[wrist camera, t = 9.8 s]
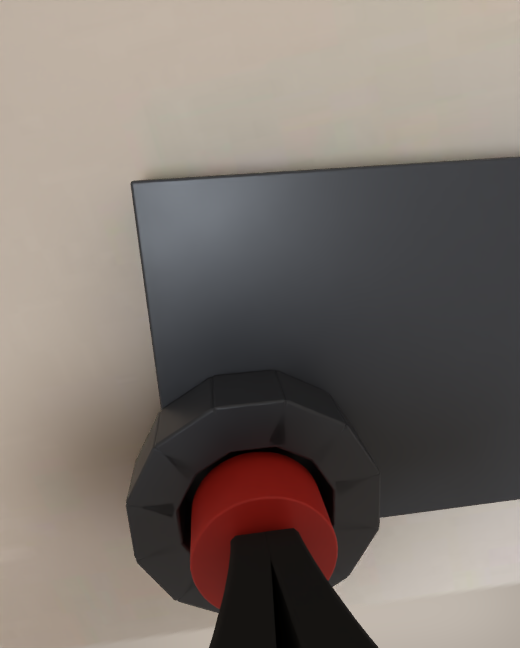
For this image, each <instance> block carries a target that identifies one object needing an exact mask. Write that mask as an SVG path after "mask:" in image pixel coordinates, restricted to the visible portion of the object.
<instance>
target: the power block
mask: <svg viewBox="0 0 520 648" xmlns="http://www.w3.org/2000/svg"><path fill="white" fill-rule="evenodd" d="M131 191H132V198H133V205H134V213H135V220H136V227H137V235H138V242H139V249H140V257H141V264H142V271H143V279H144V286H145V293H146V301H147V308H148V315H149V323H150V330H151V337H152V345H153V352H154V359H155V367H156V374H157V381H158V389H159V396H160V404H161V412H159V413H158V415H157V417H156V419H155V421H154V423H153V425H152V427H151V430H150V432H149V434H148V436H147V438H146V440H145V442H144V444H143V446H142V448H141V450H140V452H139V455H138V457H137V459H136V461H135V466H134V470H133V474H132V479H131V483H130V487H129V491H128V496H127V500H126V509H127V515H128V521H129V527H130V533H131V538H132V544H133V550H134V556H135V558H136V561H137V563H138V564H139V565H140V566H141V567H142V568H143V569H144V570H145V571H146V572H147V573H148V574H149V575H150V576H151V577H152V578H153V579H154V580H155V581H156V582H157V583H158V584H159V585H160V586H161V587H162V588H163V589H164V590H165V591H166V592H167V593H168V594H169V595H170V596H171V597H172V598H173V599H174V600H178V601H179V602H181V603H185V604H189V605H192V606H196V607H199V608H203V609H206V610H210V611H213V612H217V613H219V610H220V609H218V608H216V607H215V606H213V605H212V604H211V603H209V602H208V601H207V600H206V599H205V598H204V597H203V596H202V594H201V593H200V592H199V590H198V589H197V587H196V585H195V583H194V581H193V578H192V574H191V570H190V546H191V514H192V502H193V499H194V495H195V493H196V490H197V488H198V486H199V485H200V483H201V482H202V480H203V479H204V478H205V477H206V475H207V474H208V473H209V472H210V471H211V470H212V469H213V468H215V467H216V466H218V465H219V464H220V463H222V462H224V461H226V460H227V459H230V458H232V457H234V456H237V455H240V454H244V453H249V452H260V451H262V452H273V453H278V454H282V455H285V456H287V457H290V458H292V459H294V460H295V461H297V462H298V463H300V464H301V465H302V466H304V467H305V468H306V469H307V470H308V471H309V472H310V474H311V475H312V476H313V478H314V480H315V482H316V484H317V486H318V489H319V491H320V494H321V497H322V500H323V502H324V505H325V508H326V510H327V513H328V516H329V518H330V521H331V524H332V526H333V529H334V532H335V535H336V539H337V545H338V555H337V561H336V565H335V568H334V571H333V573H332V575H331V577H330V579H329V581H328V582H329V583H330V585H331V586H332V587H333V586H334V585H336V584H337V583H339V582H341V581H342V580H344V579H346V578H347V576H349V575H350V573H351V572H352V570H353V569H354V567H355V566H356V564H357V562H358V561H359V559H360V558H361V556H362V555H363V553H364V551H365V550H366V548H367V547H368V545H369V544H370V542H371V541H372V539H373V537H374V536H375V534H376V533H377V531H378V529H379V523H380V518H382V517H389V516H397V515H404V514H412V513H419V512H427V511H434V510H442V509H449V508H457V507H464V506H472V505H479V504H487V503H494V502H502V501H509V500H517V499H520V157H507V158H491V159H475V160H459V161H443V162H427V163H411V164H395V165H379V166H363V167H347V168H331V169H315V170H299V171H283V172H267V173H251V174H235V175H219V176H203V177H187V178H171V179H155V180H139V181H132V182H131Z"/></svg>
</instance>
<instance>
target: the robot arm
mask: <svg viewBox="0 0 520 648" xmlns="http://www.w3.org/2000/svg"><path fill="white" fill-rule="evenodd" d="M209 648H378V646H377V645H376V644H375V643H374V642H373V640H372V639H371V638H370V637H369V635H368V634H367V633H366V632H365V631H364V629H363V628H362V627H361V625H360V624H359V623H358V622H357V620H356V619H355V618H354V616H353V615H352V614H351V612H350V611H349V610H348V608H347V607H346V605H345V604H344V603H343V601H342V600H341V599H340V597H339V596H338V595H337V593H336V592H335V590H334V589H333V588H332V586H331V585H330V583H329V582H328V580H327V579H326V577H325V576H324V574H323V573H322V571H321V570H320V568H319V567H318V565H317V563H316V562H315V560H314V559H313V557H312V555H311V554H310V552H309V550H308V549H307V547H306V545H305V543H304V541H303V540H302V538H301V536H300V534H299V532H298V531H297V530H296V529H294V528H289V529H281V530H274V531H266V532H259V533H251V534H244V535H237V536H235V537H234V538H233V539H232V540H231V541H230V560H229V568H228V574H227V579H226V584H225V590H224V594H223V598H222V602H221V606H220V610H219V614H218V618H217V622H216V626H215V630H214V634H213V637H212V640H211V643H210V647H209Z"/></svg>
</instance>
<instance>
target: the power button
mask: <svg viewBox="0 0 520 648" xmlns="http://www.w3.org/2000/svg"><path fill="white" fill-rule="evenodd" d="M289 528H294V529H296V530H297V531H298V532H299V534H300V536H301V538H302V540H303V541H304V543H305V545H306V547H307V549H308V550H309V552H310V554H311V555H312V557H313V559H314V560H315V562H316V563H317V565H318V567H319V568H320V570H321V571H322V573H323V574H324V576H325V577H326V579H327V580H328V581H329V579H330V577H331V575H332V573H333V571H334V568H335V565H336V561H337V555H338V545H337V539H336V535H335V532H334V529H333V526H332V524H331V521H330V518H329V516H328V513H327V510H326V508H325V505H324V502H323V500H322V497H321V494H320V491H319V489H318V486H317V484H316V482H315V480H314V478H313V476H312V475H311V474H310V472H309V471H308V470H307V469H306V468H305V467H304V466H302V465H301V464H300V463H298V462H297V461H295V460H294V459H292V458H290V457H287V456H285V455H282V454H278V453H273V452H262V451H260V452H249V453H244V454H240V455H237V456H234V457H232V458H230V459H227V460H226V461H224V462H222V463H220V464H219V465H218V466H216V467H215V468H213V469H212V470H211V471H210V472H209V473H208V474H207V475H206V477H205V478H204V479H203V480H202V482H201V483H200V485H199V486H198V488H197V490H196V493H195V495H194V499H193V502H192V514H191V546H190V570H191V574H192V578H193V581H194V583H195V585H196V587H197V589H198V590H199V592H200V593H201V594H202V596H203V597H204V598H205V599H206V600H207V601H208V602H209V603H211V604H212V605H213V606H215V607H216V608H218V609H220V606H221V602H222V598H223V594H224V590H225V584H226V579H227V574H228V568H229V560H230V541H231V540H232V539H233V538H234V537H235V536H237V535H244V534H251V533H259V532H266V531H274V530H281V529H289Z"/></svg>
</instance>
